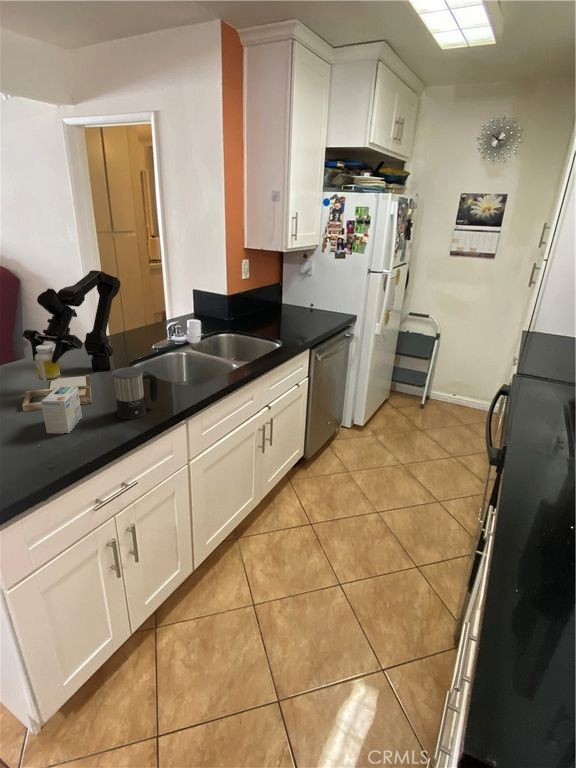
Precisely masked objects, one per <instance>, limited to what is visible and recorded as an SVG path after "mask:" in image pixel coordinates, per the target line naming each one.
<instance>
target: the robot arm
mask: <svg viewBox="0 0 576 768" xmlns="http://www.w3.org/2000/svg"><path fill="white" fill-rule="evenodd" d="M95 287H96V291H97V293H98V295H99V297H98V302H97V306H96V311H95V316H94V317H95V318H94V322H93V327H92V329H91V331H90V332H86V333H85V339H84V341H82V340H81V339H80V338H79V337H78V336H76V335H75V334H70V332H71V328H70V324H71V321H72V319H73V317H74V318H77V317H78V314H77V312H76V309H74V308H71V307H77V308H78V307H81V306H82V304H83V303H84V301H85V300H86V297H85V296H86V295H87V294H88V293H89V292H91V291H92V290H93V289H94V288H95ZM120 288H121V281H120V279H118V277H117V276H113V275H111V274H108V273H106V272H104V271H102V270H96V269H95V270H94V269H93V270H89V271H88V274H86V275H85V276H84V277H83V278H81V279H80V280H79V281H77V282H76V283H74V284H73V285H70V286H64V287H62V288H61V289H59V290H58V291H57V292H56V290H55V289H54V288H47V289H46V290H45V291H43V292H41V293H40V294H39V295H38V296H37V299H36V301H37V302H36V303H38V305H39V306H41V307H42V308H43V309H44V310H45V311H47V313H49V314H50V315H52V317H50V318H48V319H47V320H46V321H47V323H48V325H47V328H46V329H43V330H42V333H43V334H41V332H39V331H38V330H35V329H25V330H24V331H23V333H22V335H21V337H22V338H25V339H26V340H27V341H28V342H30V345H31V351H32V352H31V353H32V361H34V362H35V355H36V354H37V353H38V352H37V351H36V347H37V346H39V345H44V343H45V342H49V343H50V342H52V343H53V344H54V351H53V352H54V353H53V357H52V363H53V364H55V363H56V362H57V361H58V362H59V360H60V359H61V357H63V355H64V354H66V353H67V352H70V351H74V349H75V350H82V348H83V344H84V349H85V351H86V354H87V356H92V357H91V358H90V362H91V369H92V370H93V372H107V371H108V372H109V371H111V370H112V368H111V367H112V366H111V362H110V361H111V360H110V357H112V356H113V355H114V348H113V347H112V346H111V345H110V343H109V342H110V339H109V337H108V335H107V329H108V324H109V319H110V315H111V308H112V304H113V300H114V298H115V297H116V296H117V295H118V294H119V291H120ZM83 342H84V343H83Z"/></svg>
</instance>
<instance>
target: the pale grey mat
mask: <svg viewBox="0 0 576 768" xmlns="http://www.w3.org/2000/svg"><path fill="white" fill-rule="evenodd" d="M76 386H87V385H86V377H85V375H83V376H72V377H71V376H70V377H60V378H59V379H57V380H55V381H50V385H49V389H55V388H56V387H76Z"/></svg>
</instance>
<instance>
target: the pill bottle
mask: <svg viewBox="0 0 576 768" xmlns="http://www.w3.org/2000/svg"><path fill="white" fill-rule="evenodd" d="M43 344H44V343H43ZM36 351H37V352H38V353H37V354H36V355H35V361H34V362H35V365H36V371H37V375H38V379H39V381H41V382H44V383H45V382H47V383H48V382H51V381H55V380H57V379H59V378H61V372H60V371H61V370H60V366H59V360H58V361H57V362H56V363H55V364H53V363H52V357H53V353H54V351H53V345H52V344H49V343H47V344H44V345H39V346H37V347H36Z"/></svg>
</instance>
